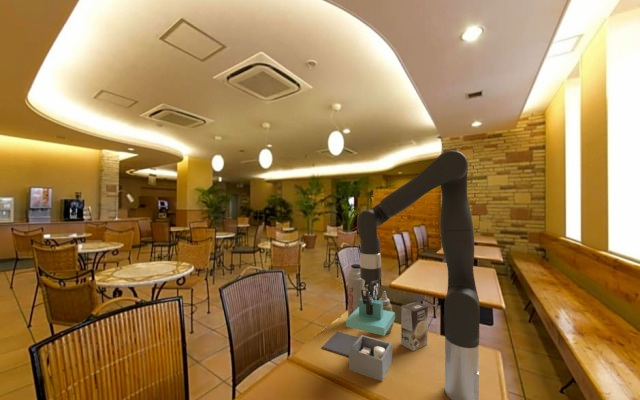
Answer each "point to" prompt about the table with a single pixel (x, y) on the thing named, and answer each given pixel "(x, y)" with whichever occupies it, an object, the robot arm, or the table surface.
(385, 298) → the squeeze bottle
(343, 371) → the table surface
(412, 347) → the coffee box
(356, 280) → the thermos bottle
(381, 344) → the storage box
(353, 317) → the lid
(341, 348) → the rubber mat
